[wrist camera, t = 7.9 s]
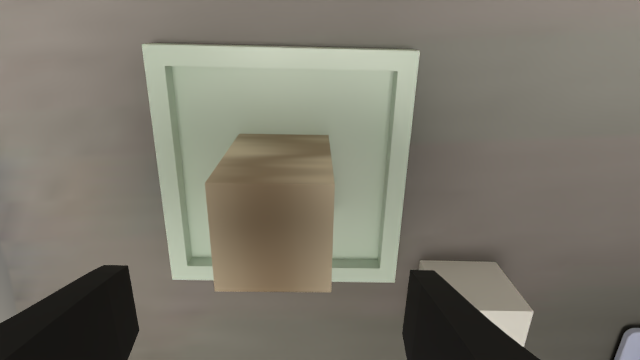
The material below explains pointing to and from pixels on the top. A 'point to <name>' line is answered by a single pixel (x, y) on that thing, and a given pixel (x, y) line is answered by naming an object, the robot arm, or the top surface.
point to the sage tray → (285, 118)
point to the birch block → (272, 214)
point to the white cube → (487, 293)
